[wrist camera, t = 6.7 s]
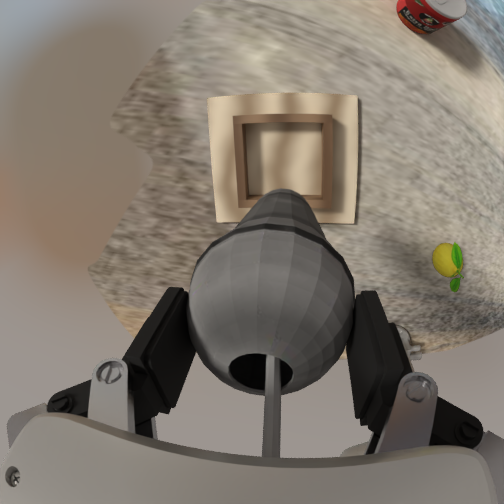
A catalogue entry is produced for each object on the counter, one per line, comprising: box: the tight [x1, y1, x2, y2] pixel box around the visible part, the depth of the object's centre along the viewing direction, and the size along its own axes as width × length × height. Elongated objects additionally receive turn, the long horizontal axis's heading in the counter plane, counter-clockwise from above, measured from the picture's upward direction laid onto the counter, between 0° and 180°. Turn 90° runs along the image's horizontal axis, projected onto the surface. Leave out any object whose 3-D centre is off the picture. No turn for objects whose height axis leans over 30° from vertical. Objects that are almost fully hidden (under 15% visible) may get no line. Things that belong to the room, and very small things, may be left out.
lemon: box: [432, 242, 464, 292], centre depth 38 cm, size 7×6×10 cm
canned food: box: [397, 0, 467, 34], centre depth 20 cm, size 8×8×11 cm
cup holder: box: [207, 93, 358, 224], centre depth 38 cm, size 22×20×4 cm
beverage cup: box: [186, 188, 355, 458], centre depth 13 cm, size 7×7×20 cm
